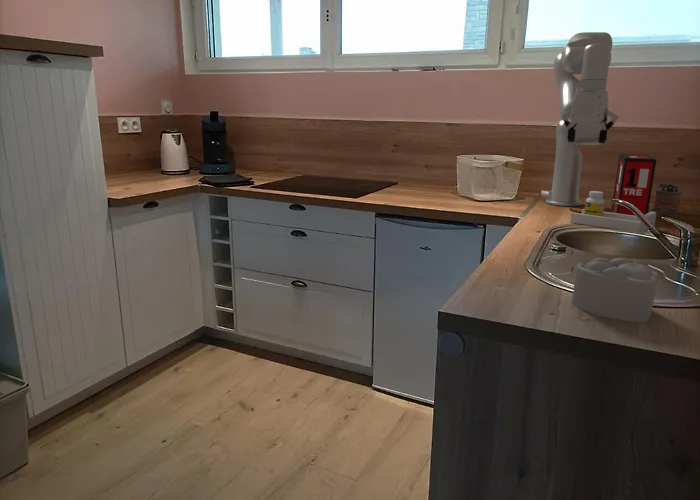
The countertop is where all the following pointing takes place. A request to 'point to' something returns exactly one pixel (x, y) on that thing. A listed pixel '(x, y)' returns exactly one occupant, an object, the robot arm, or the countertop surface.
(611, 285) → the lumpy-topped squat cylinder
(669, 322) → the countertop surface
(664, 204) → the lighter
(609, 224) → the u rest
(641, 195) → the cleaning product box
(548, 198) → the robot arm
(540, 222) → the countertop surface
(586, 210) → the supplement bottle
